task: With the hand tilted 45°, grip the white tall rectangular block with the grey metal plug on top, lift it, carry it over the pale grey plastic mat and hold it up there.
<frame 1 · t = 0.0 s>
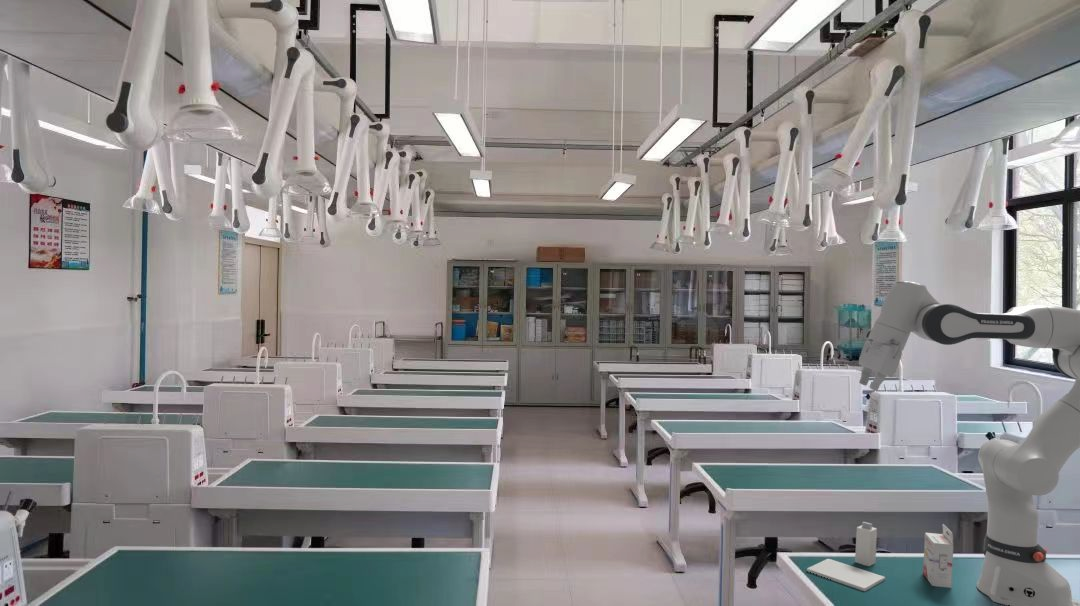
hand: (867, 387, 194), 52 cm above the table, tool tilted 20°, fingers open, 8 cm apart
white tall rectangular block: (865, 562, 208), on the table
ink cartridge box: (936, 581, 197), on the table
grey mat: (845, 575, 198), on the table
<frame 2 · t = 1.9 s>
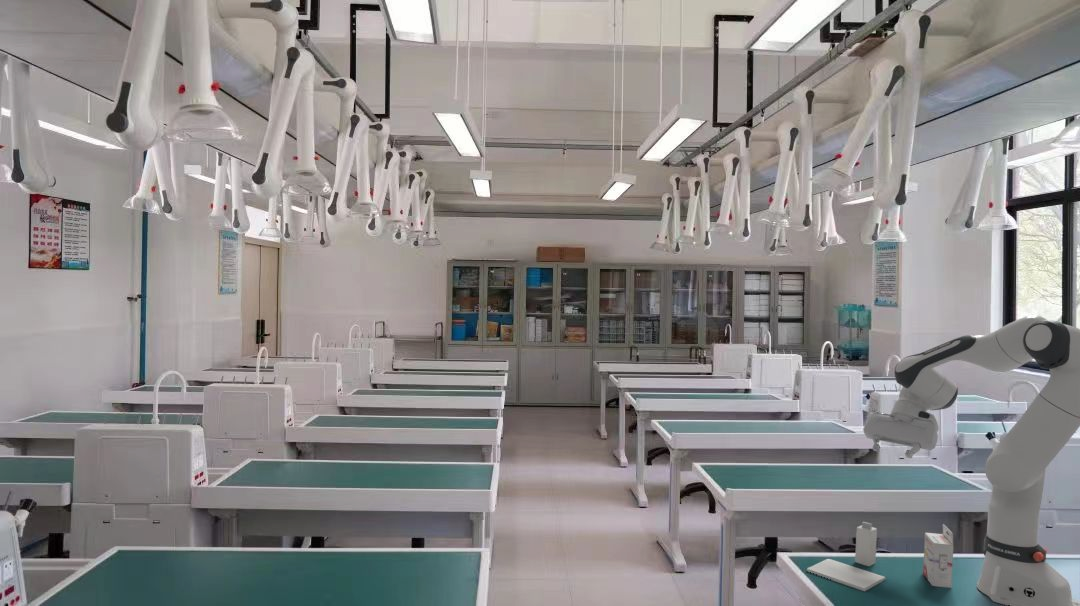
hand: (891, 453, 217), 29 cm above the table, tool tilted 45°, fingers open, 8 cm apart
nothing on the table moved.
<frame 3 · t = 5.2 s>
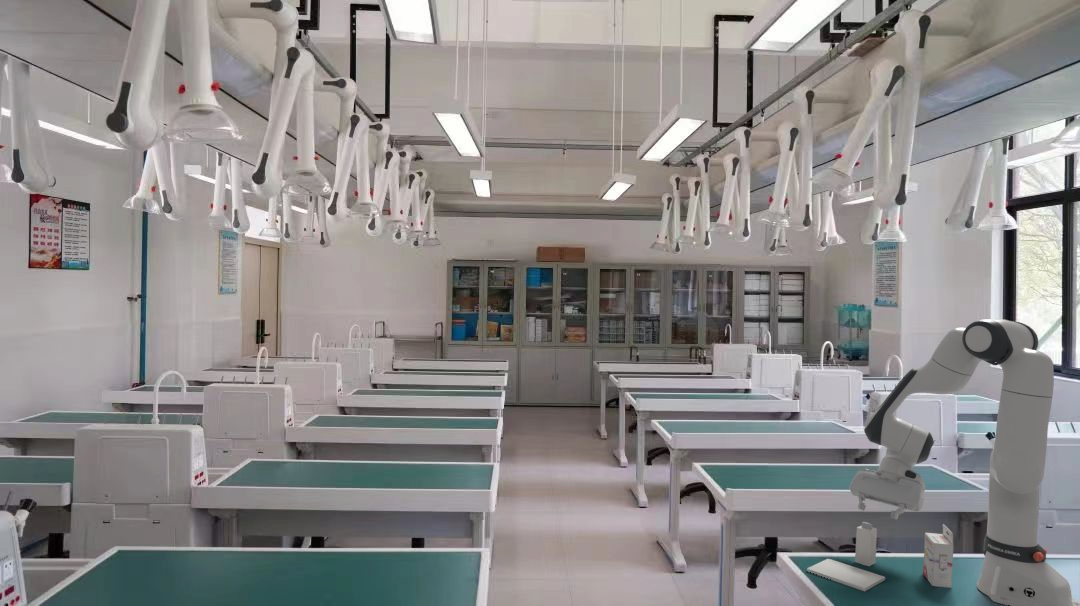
hand: (876, 513, 212), 13 cm above the table, tool tilted 45°, fingers open, 8 cm apart
nothing on the table moved.
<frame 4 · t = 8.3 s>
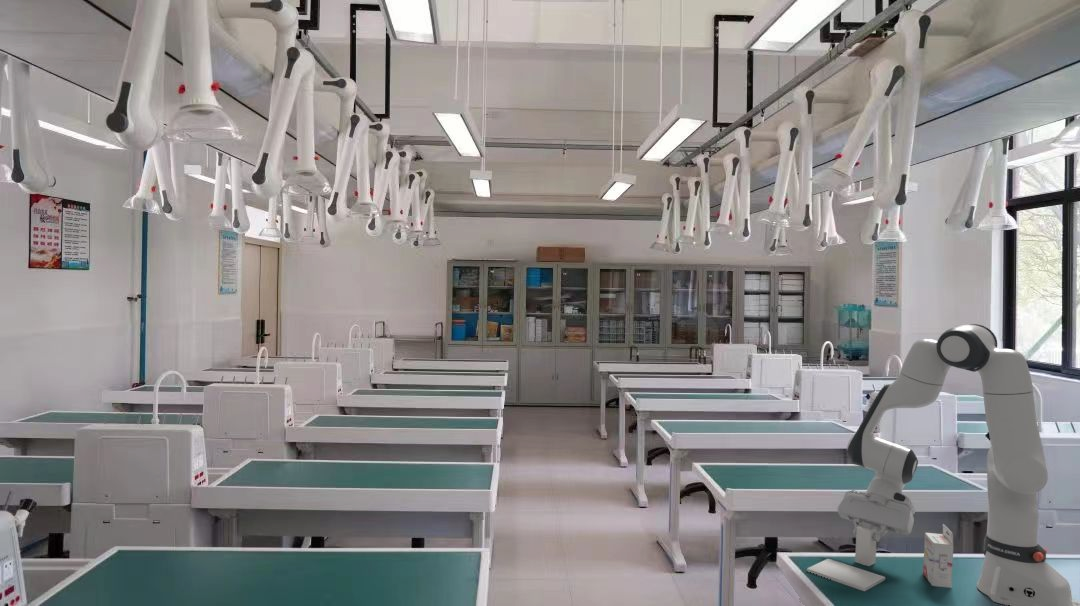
hand: (865, 537, 207), 7 cm above the table, tool tilted 45°, fingers closed on white tall rectangular block, 4 cm apart
white tall rectangular block: (865, 562, 208), on the table, touching gripper
everything else where it was.
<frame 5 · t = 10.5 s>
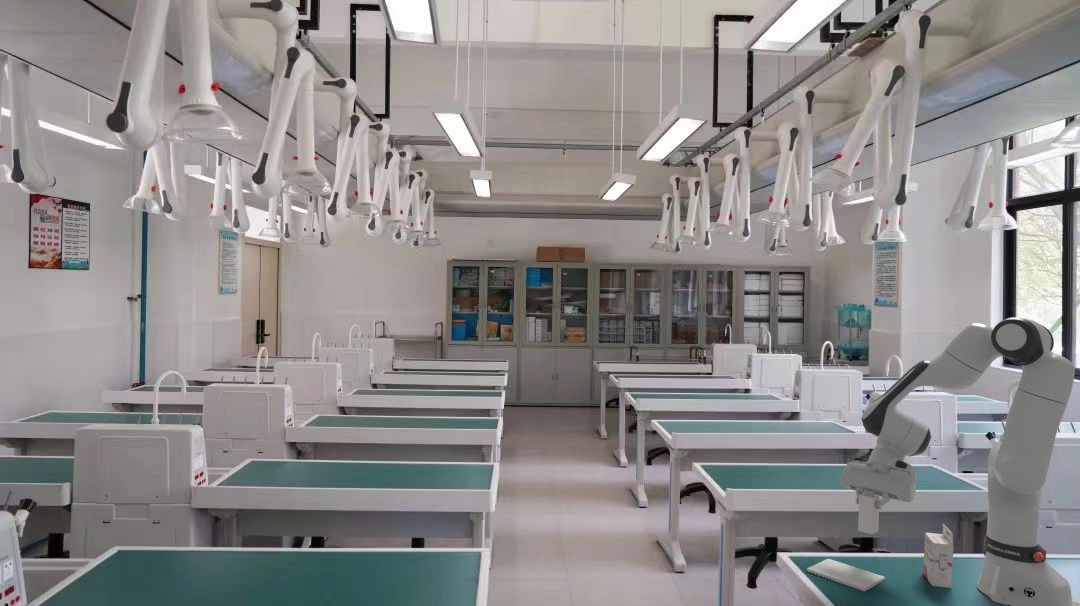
hand: (868, 505, 207), 17 cm above the table, tool tilted 45°, fingers closed on white tall rectangular block, 4 cm apart
white tall rectangular block: (868, 531, 208), point 9 cm above the table, touching gripper
everything else where it was.
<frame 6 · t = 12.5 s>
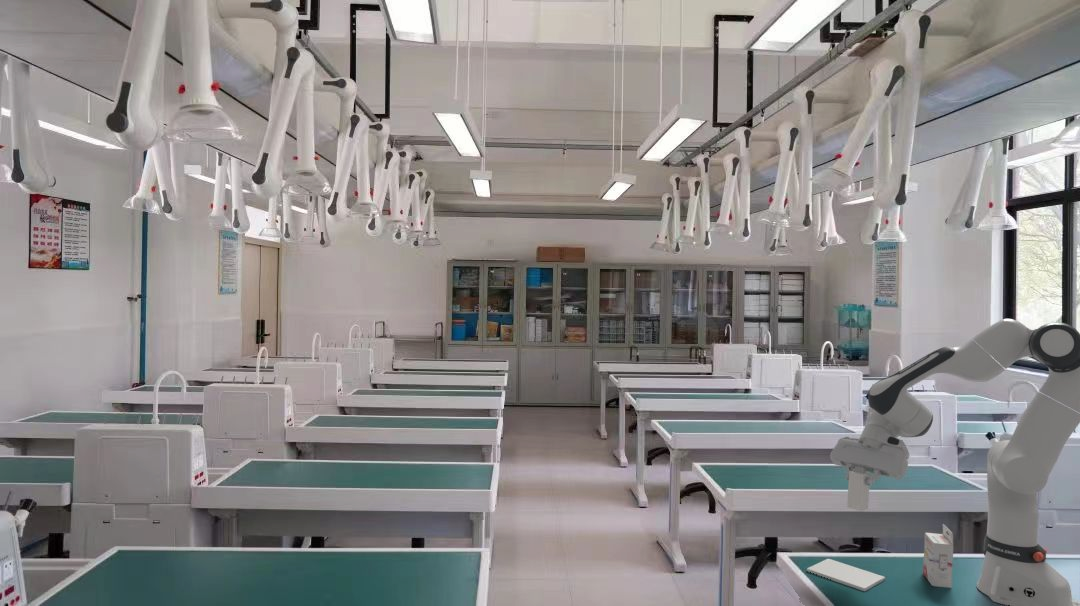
hand: (858, 481, 202), 24 cm above the table, tool tilted 45°, fingers closed on white tall rectangular block, 4 cm apart
white tall rectangular block: (857, 507, 203), point 17 cm above the table, touching gripper
everything else where it was.
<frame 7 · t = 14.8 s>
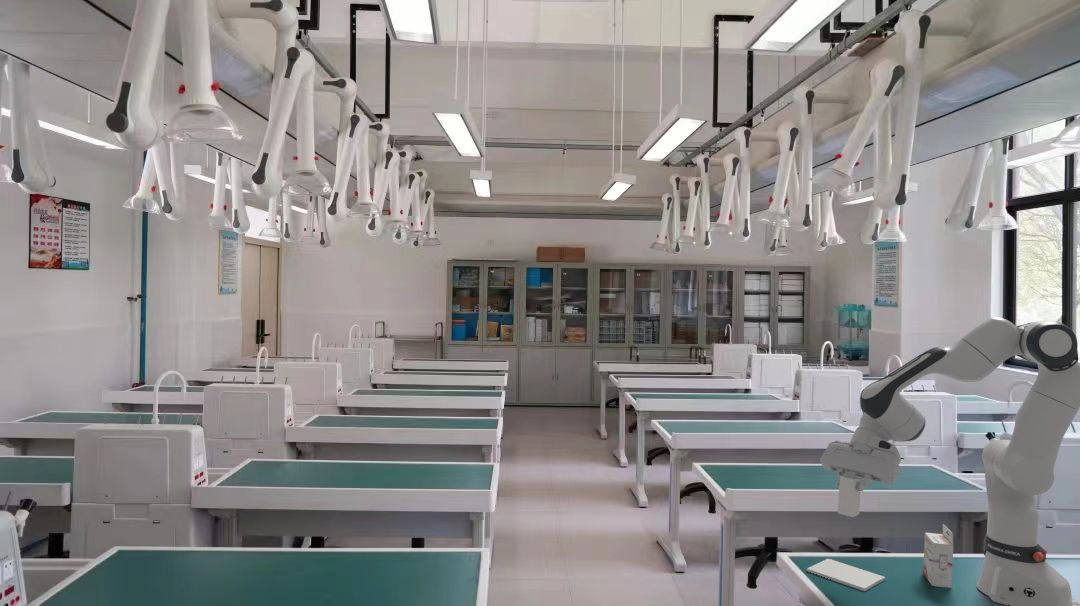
hand: (848, 487, 197), 24 cm above the table, tool tilted 45°, fingers closed on white tall rectangular block, 4 cm apart
white tall rectangular block: (848, 513, 197), point 17 cm above the table, touching gripper
everything else where it was.
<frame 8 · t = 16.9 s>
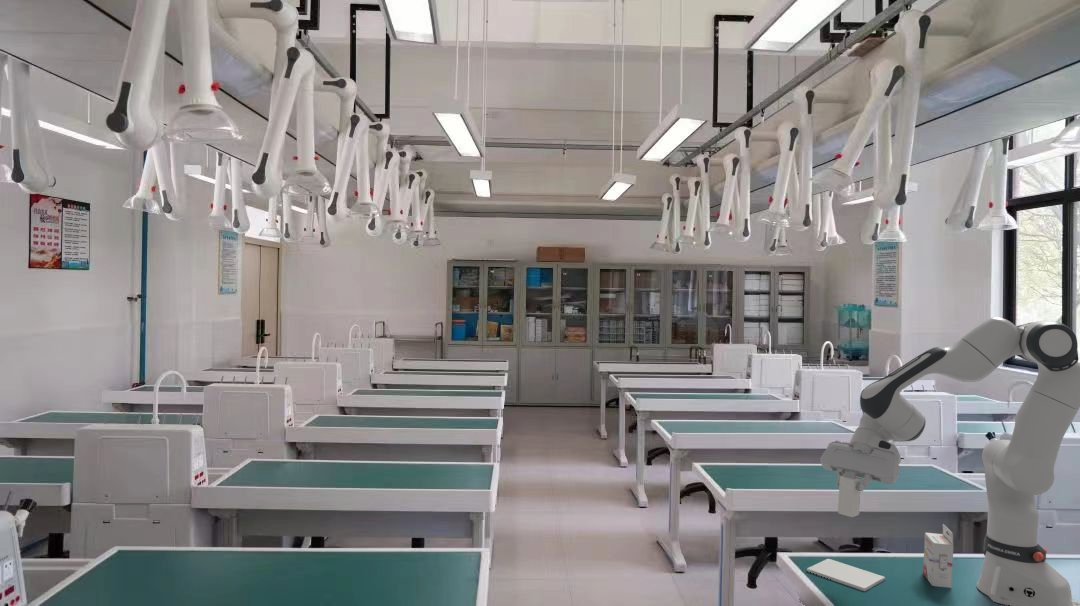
hand: (848, 487, 197), 24 cm above the table, tool tilted 45°, fingers closed on white tall rectangular block, 4 cm apart
white tall rectangular block: (848, 513, 197), point 17 cm above the table, touching gripper
everything else where it was.
at the end: the gripper is holding white tall rectangular block; white tall rectangular block inside the target area (0.0 cm from its centre), point 17.0 cm above the table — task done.
